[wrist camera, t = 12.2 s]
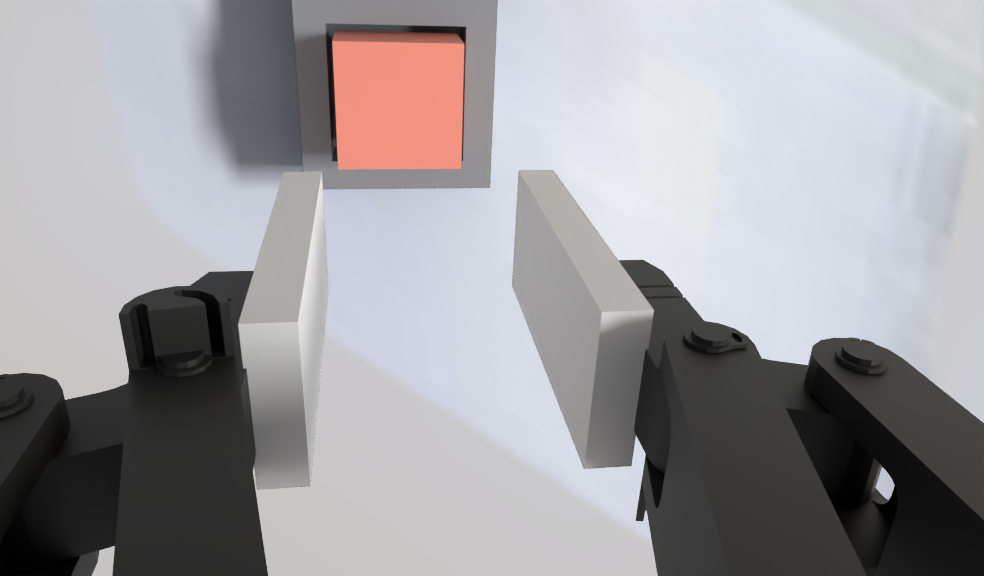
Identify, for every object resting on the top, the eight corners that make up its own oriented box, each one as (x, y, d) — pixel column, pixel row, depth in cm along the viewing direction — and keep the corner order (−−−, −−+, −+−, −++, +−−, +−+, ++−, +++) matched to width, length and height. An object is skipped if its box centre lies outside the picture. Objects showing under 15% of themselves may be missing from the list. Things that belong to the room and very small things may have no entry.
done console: (297, -19, 29) (290, -12, 27) (486, -13, 31) (497, -5, 28) (309, 166, 33) (304, 189, 30) (479, 165, 34) (489, 187, 31)
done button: (334, 30, 28) (332, 40, 26) (456, 33, 29) (464, 43, 27) (340, 150, 30) (338, 169, 28) (454, 149, 31) (461, 168, 28)
